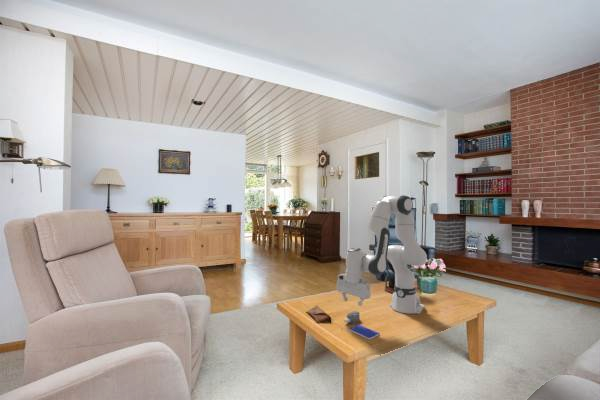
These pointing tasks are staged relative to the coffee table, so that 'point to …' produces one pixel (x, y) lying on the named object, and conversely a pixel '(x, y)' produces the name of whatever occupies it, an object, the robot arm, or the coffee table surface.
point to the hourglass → (392, 280)
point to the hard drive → (364, 332)
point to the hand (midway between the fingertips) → (352, 303)
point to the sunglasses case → (319, 315)
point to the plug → (352, 317)
